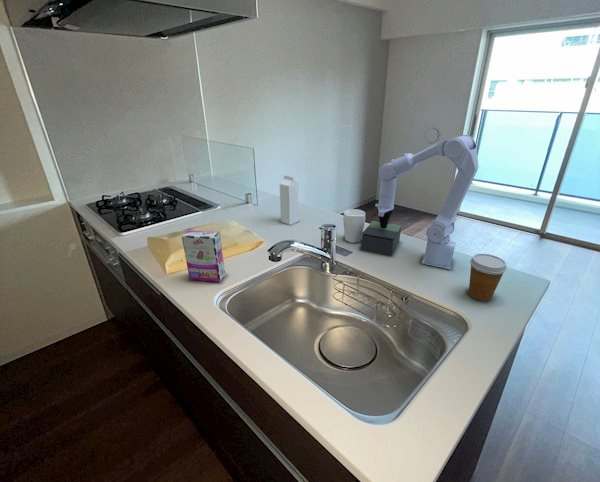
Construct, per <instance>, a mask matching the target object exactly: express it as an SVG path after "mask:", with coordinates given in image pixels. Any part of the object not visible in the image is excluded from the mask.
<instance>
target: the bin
mask: <svg viewBox="0 0 600 482" xmlns="http://www.w3.org/2000/svg"><path fill="white" fill-rule="evenodd" d="M401 233H402V227H401V228H400V230H399V231H398V233H397V232H394V231H389V230H383V229H377V228H371V227H368V226H367V227H366V228H365V229H363V233H362V237H361V241H360V242H361V243H360V251H363V252H368V253H373V254H377V255H383V256H388V257H393V254H394V253H395V251H396V249H397V247H398V245H399V244H400V239H401ZM377 237H381V238H377ZM383 238H386V239H383Z"/></svg>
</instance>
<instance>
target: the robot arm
mask: <svg viewBox="0 0 600 482" xmlns="http://www.w3.org/2000/svg"><path fill="white" fill-rule="evenodd" d="M436 156H440V157H446V158H447V159H448V160H449V161H450V162H451V163H452V164H454V166H455V168H456V170H457V173H456V175H455V177H454V179H453V181H452V184H451V186H450V188H449V191H448V193H447V195H446V198H445V199H444V202H443V204H442V207H441V208H440V211H439V213H438V214H437V216H436V218H435V219H434V220H433V222H432V224H431V225H430V226H428V227H427V229H426V231H425V235H426V238H427V241H426V247H425V252H424V255H423V257H422V260H421V264H422V265H426V266H430V267H437V268H441V269H446V270H451V266H452V263H453V262H454V253H455V247H456V241H452V240H451V237H450V236H451V234H453V233H454V231H455V222H456V220H457V218H456V216H457V214H458V212H459V209H460V208H461V205H462V204H463V201H464V199H465V197H466V196H467V193H468V191H469V189H470V187H471V185H472V182H473V180H474V178H475V176H476V175H477V172H478V170H479V159H478V144H477V142H476V141H475V139H474V138H473V136H470V135H468V134H461V135H459V136H455V137H451V138H449V139H446V140H443V141H439V142H436V143H434V144H433V145H431V146H428V147H426V148H425V149H423V150H421V151H418V152H417V153H415V154H413V153H411V152H408V153H406V152H404V153H402V154H401V156H400V157H398V158H396V159H391V160H390V162H388V163H383V164H382V165H381V166H380V167H379V169H378V177H380V185H379V194H378V195H379V196H378V203H375V206H374V207H375V208H377V210H376V215H377V217H378V220H379V222H380V227H381V228H385V229H386V227H387V225H388V224H389V221H390V220H391V219H390V218H391V216H393V215H392V214H393V213H394V211H395V210H394V209H395V197H396V189H397V181H398V177H400V176H402V175H403V174H405V173H408V172H411V171H412V170H415V169H416V168H417V166H418V164H419V163H420V162H423V161H426V160H428V159H431V158H433V157H436Z"/></svg>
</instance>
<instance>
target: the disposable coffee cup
mask: <svg viewBox="0 0 600 482" xmlns="http://www.w3.org/2000/svg"><path fill="white" fill-rule="evenodd" d="M469 263H470V273H469V283H468V295H469V296H470V297H472V298H473V299H476V300H479V301H483V302H486V301H487V302H488V301H490V300H492V298H493V296H494V294H495V292H496V290H497V288H498V286H499V284H500V281H501V279H502V277H503V275H504V273H505V272H506V271H507V270H508V266H507V262H506V260H504V258H502V257H500V256H497V255H495V254H494V255H493V254H489V253H477V254H474V255H473V256H472V258H470V260H469Z"/></svg>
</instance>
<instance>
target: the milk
mask: <svg viewBox="0 0 600 482" xmlns="http://www.w3.org/2000/svg"><path fill="white" fill-rule="evenodd" d="M279 201H280V202H279V207H280V208H279V209H280V222H281V223H283V224H286V225H289V226H290V225H293V224H295V223H297V222H299V184H298V182H296V180H294V177H293V176H288V175H283V179H282V180H281V181H280V182H279Z"/></svg>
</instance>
